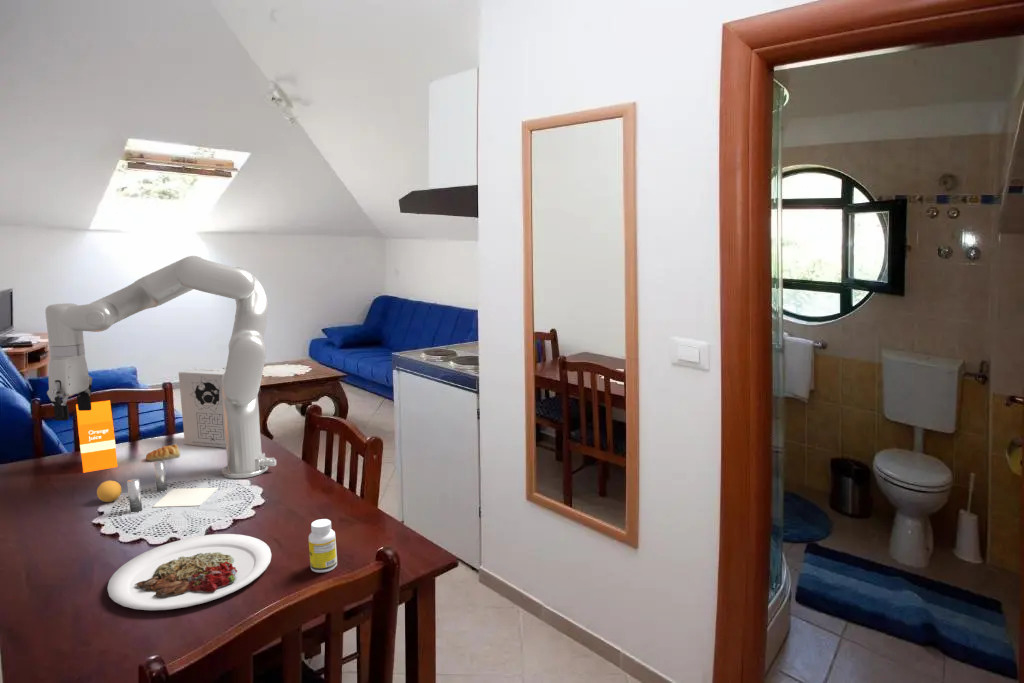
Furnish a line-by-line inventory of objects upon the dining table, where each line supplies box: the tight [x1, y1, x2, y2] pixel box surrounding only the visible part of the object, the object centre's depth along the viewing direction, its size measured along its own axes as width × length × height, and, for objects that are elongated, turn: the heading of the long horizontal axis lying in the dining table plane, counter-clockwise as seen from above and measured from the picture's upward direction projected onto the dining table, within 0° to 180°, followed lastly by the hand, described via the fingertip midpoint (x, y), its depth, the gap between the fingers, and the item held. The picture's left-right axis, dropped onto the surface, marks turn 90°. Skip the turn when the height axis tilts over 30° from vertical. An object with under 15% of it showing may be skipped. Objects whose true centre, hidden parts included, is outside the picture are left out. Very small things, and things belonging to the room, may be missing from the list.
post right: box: [153, 460, 168, 493], centre depth 176 cm, size 3×3×8 cm
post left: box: [126, 478, 143, 513], centre depth 162 cm, size 3×3×8 cm
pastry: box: [145, 444, 181, 462], centre depth 203 cm, size 9×7×4 cm
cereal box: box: [178, 367, 226, 449], centre depth 215 cm, size 22×8×25 cm, turn 77°
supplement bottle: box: [308, 518, 338, 574], centre depth 134 cm, size 5×5×10 cm
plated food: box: [107, 533, 272, 611], centre depth 132 cm, size 30×30×3 cm
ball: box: [96, 480, 122, 503], centre depth 169 cm, size 6×6×6 cm
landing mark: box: [151, 487, 219, 508], centre depth 171 cm, size 12×12×1 cm
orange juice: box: [75, 399, 118, 474], centre depth 194 cm, size 8×9×20 cm
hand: (74, 415), depth 170 cm, fingers open, 9 cm apart
